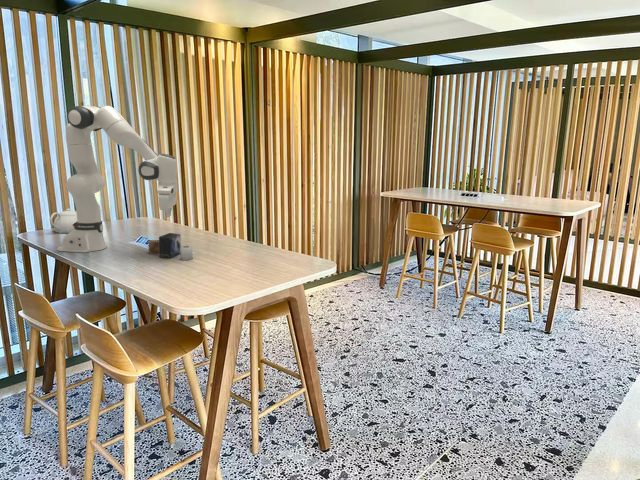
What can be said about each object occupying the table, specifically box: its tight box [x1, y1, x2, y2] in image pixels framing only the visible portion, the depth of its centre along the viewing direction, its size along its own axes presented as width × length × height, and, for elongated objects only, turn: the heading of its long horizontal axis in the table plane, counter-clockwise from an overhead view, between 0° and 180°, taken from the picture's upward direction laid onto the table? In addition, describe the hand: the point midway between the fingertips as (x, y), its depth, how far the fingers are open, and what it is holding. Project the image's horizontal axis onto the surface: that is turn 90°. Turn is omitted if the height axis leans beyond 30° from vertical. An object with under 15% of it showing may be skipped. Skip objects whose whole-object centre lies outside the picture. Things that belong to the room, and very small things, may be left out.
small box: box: [158, 232, 182, 259], centre depth 228 cm, size 11×6×10 cm, turn 168°
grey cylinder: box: [179, 245, 193, 261], centre depth 223 cm, size 6×6×6 cm
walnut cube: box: [147, 239, 159, 255], centre depth 233 cm, size 6×6×6 cm
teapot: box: [49, 208, 77, 234], centre depth 275 cm, size 19×18×14 cm
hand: (168, 216), depth 225 cm, fingers closed
